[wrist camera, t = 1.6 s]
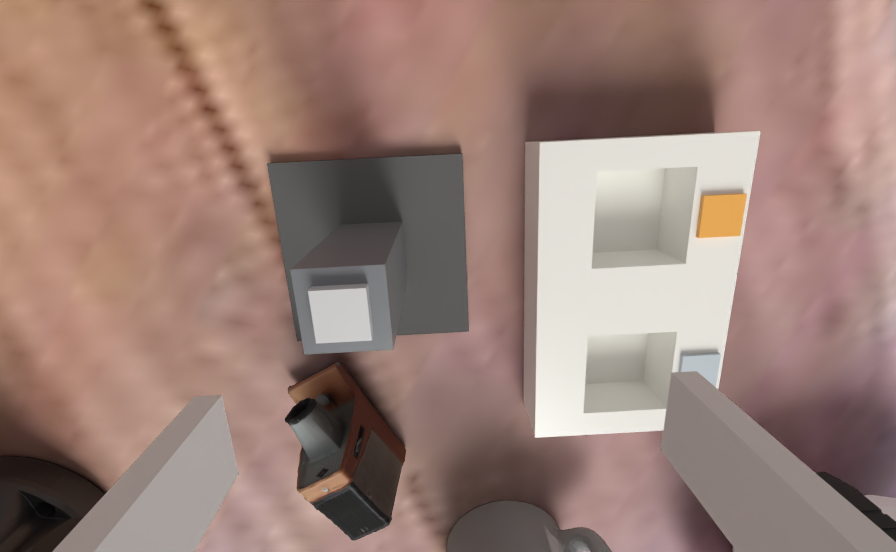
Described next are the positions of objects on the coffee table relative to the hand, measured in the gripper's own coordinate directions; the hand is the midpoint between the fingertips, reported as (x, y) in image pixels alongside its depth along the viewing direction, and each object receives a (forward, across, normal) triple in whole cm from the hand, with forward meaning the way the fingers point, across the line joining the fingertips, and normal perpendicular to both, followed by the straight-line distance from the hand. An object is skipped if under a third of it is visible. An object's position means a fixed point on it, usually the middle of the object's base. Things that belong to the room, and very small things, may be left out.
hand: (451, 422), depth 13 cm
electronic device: (+18, -7, -12) cm, 23 cm away
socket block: (+17, +12, -2) cm, 21 cm away
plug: (+17, -4, +1) cm, 17 cm away
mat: (+17, -4, +1) cm, 18 cm away
